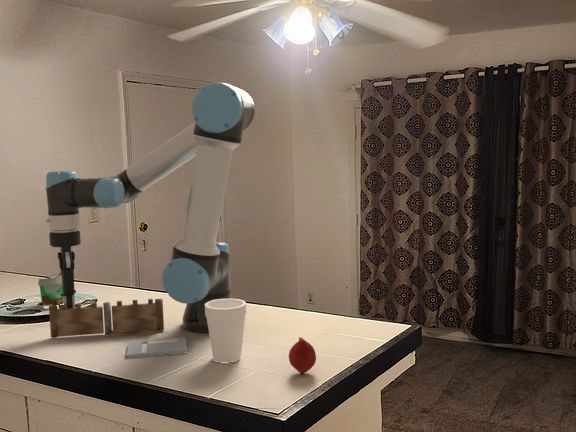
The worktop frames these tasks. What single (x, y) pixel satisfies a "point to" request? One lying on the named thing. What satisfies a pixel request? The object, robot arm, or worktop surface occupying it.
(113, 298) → the worktop surface
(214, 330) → the foam cup
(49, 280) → the food container
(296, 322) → the worktop surface
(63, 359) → the worktop surface
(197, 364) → the worktop surface
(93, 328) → the fence hinged panel
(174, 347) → the card
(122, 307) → the fence fixed panel
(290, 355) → the onion
